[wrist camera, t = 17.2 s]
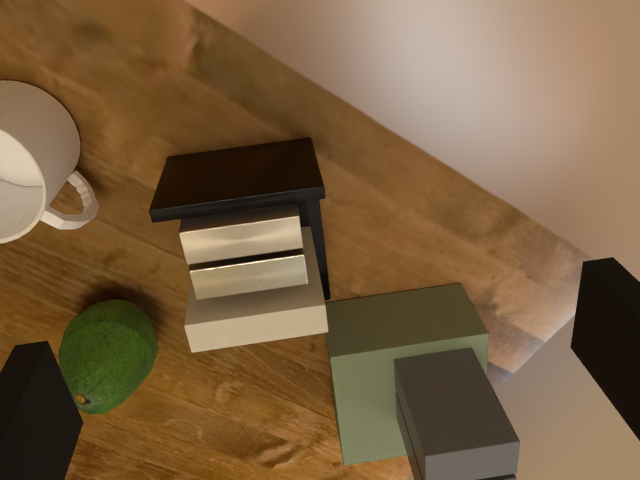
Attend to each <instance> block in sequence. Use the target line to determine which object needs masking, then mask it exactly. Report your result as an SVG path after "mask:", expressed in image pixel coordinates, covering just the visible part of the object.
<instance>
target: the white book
mask: <svg viewBox="0 0 640 480" xmlns="http://www.w3.org/2000/svg"><path fill="white" fill-rule="evenodd" d="M301 233H302V240H303V249H304V255H305V262H306V269H307V277H308V284H305V285H298V286H291V287H284V288H277V289H270V290H264V291H257V292H250V293H243V294H236V295H229V296H223V297H216V298H209V299H202V300H196V298H195V294H194V290H193V287H192V283H191V287H190V293H189V299H188V305H187V311H186V317H185V323H184V328H185V331H186V335H187V338H188V342H189V345H190V349H191V352H192V353H193V352H200V351H207V350H213V349H220V348H227V347H233V346H240V345H247V344H253V343H260V342H267V341H273V340H280V339H287V338H293V337H300V336H307V335H313V334H320V333H327V332H328V331H329V330H328V322H327V314H326V306H325V301H324V295H323V290H322V285H321V280H320V274H319V269H318V264H317V259H316V254H315V248H314V243H313V238H312V233H311V227H310V226H306V227H301Z"/></svg>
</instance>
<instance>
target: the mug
mask: <svg viewBox="0 0 640 480" xmlns="http://www.w3.org/2000/svg"><path fill="white" fill-rule="evenodd" d="M79 156H80V139H79V133H78V131H77V128H76V125H75V123H74V121H73V119H72V118H71V116H70V114H69V113H68V112H67V110H66V109H65V108H64V107H63V106H62V105H61V103H59V102H58V101H57V100H56V99H55V98H53V97H52V96H51V95H50V94H48V93H46V92H45V91H43V90H41V89H39V88H37V87H35V86H32V85H30V84H27V83H22V82H18V81H4V80H1V81H0V243H6V242H9V241H12V240H15V239H17V238H20V237H21V236H23V235H24V234H26V233H27V232H29V231H30V230H31V229H32V228H33V227H34V226H35V225H36V224H37V223H38V221H39V220H41V221H43V222H45V223H47V224H49V225H51V226H53V227H55V228H57V229H77V228H80V227H82V226H83V225H85V224H86V223H87V222H89V221H90V220H91V219H93V218H94V217H95V216H96V214H97V210H98V208H99V204H98V202H97V199H96V198H95V195H94V192H93V189H92V188H91V186H90V184H89V183H88V182H87V181H86V179H85V178H84V177H83V176H82V175H81V174H80V173H79V172H78V171H74V172H73V170H74V169H75V167H76V165H77V163H78V159H79ZM66 181H68V182H69V183H70V184H71V185H73V186H74V187H76V190H77V191H78V193H80V194H81V196H80V197H81V198H82V203H83V205H84V209H83V213H81V214H77V215H68V214H63V213H61V212H59V211H57V210H55V209H53V208H51V207H50V206H49V205H50V204H51V202H52V201H53V200H54V198H55V197H56V195H57V194H58V192H59V191H60V189H61V188H62V187H63V185H64V184H65V182H66Z"/></svg>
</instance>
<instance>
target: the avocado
mask: <svg viewBox="0 0 640 480" xmlns="http://www.w3.org/2000/svg"><path fill="white" fill-rule="evenodd" d="M157 351H158V345H157V337H156V333H155V329H154V326H153V324H152V322H151V319H150V317H149V315H147V314H146V313H145V312H144V311H143V310H142V309H141V308H140V307H139V306H138V305H136V304H135V303H133V302H129V301H126V300H119V299H112V300H107V301H102V302H98V303H96V304H94V305H92V306H90V307H88V308H87V309H85V310H83V311H82V312H81V313H80V314H78V315H77V316H76V317H75V318H74V319H73V320H72V321H71V322H70V323H69V325H68V327H67V328H66V330H65V332H64V335H63V338H62V342H61V346H60V349H59V353H58V354H59V366H60V370H61V372H62V375H63V377H64V379H65V382H66V384H67V386H68V388H69V391H70V393H71V395H72V398H73V400H74V402H75V404H76V407H77V408H78V409H80V410H81V411H83V412H85V413H87V414H103V413H106V412H109V411H110V410H112V409H113V408H115V407H117V406H118V405H120V404H121V403H122V402H123V401H124V400H125V399H126V398H128V397H129V396H130V395H131V394H132V393H133V392H134V391H135V390H136V389H137V388H138V386H139V385H140V384H141V383H142V382H143V381H144V379H145V378H146V377H147V376H148V375H149V373H150V372H151V370H152V367H153V364H154V361H155V358H156V355H157Z"/></svg>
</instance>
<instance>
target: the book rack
mask: <svg viewBox="0 0 640 480" xmlns="http://www.w3.org/2000/svg"><path fill="white" fill-rule="evenodd" d="M319 199H325V189H324V184H323V180H322V176H321V173H320V169H319V165H318V162H317V158H316V154H315V151H314V147H313V143H312V139H311V138H303V139H296V140H288V141H281V142H274V143H267V144H259V145H252V146H245V147H237V148H230V149H223V150H215V151H208V152H201V153H193V154H186V155H179V156H171V157H167V160H166V163H165V166H164V169H163V172H162V174H161V177H160V180H159V183H158V186H157V189H156V192H155V195H154V197H153V200H152V203H151V206H150V209H149V213H150V216H151V220H152V222H153V223H154V222H161V221H169V220H176V219H181V225H180V229H179V237H180V241H181V245H182V249H183V252H184V256H185V260H186V264H187V265H188V264H190V267H189V275H190V279H191V283H192V287H193V290H194V294H195V298H196V300H202V299H209V298H216V297H223V296H229V295H236V294H243V293H250V292H257V291H264V290H270V289H277V288H284V287H291V286H298V285H305V284H308V277H307V269H306V262H305V255H304V249H303V240H302V233H301V227H306V226H310V227H311V233H312V238H313V243H314V248H315V254H316V259H317V264H318V269H319V274H320V280H321V285H322V290H323V295H324V300H328V299H330V290H329V281H328V273H327V264H326V256H325V247H324V239H323V230H322V222H321V213H320V205H319Z"/></svg>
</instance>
